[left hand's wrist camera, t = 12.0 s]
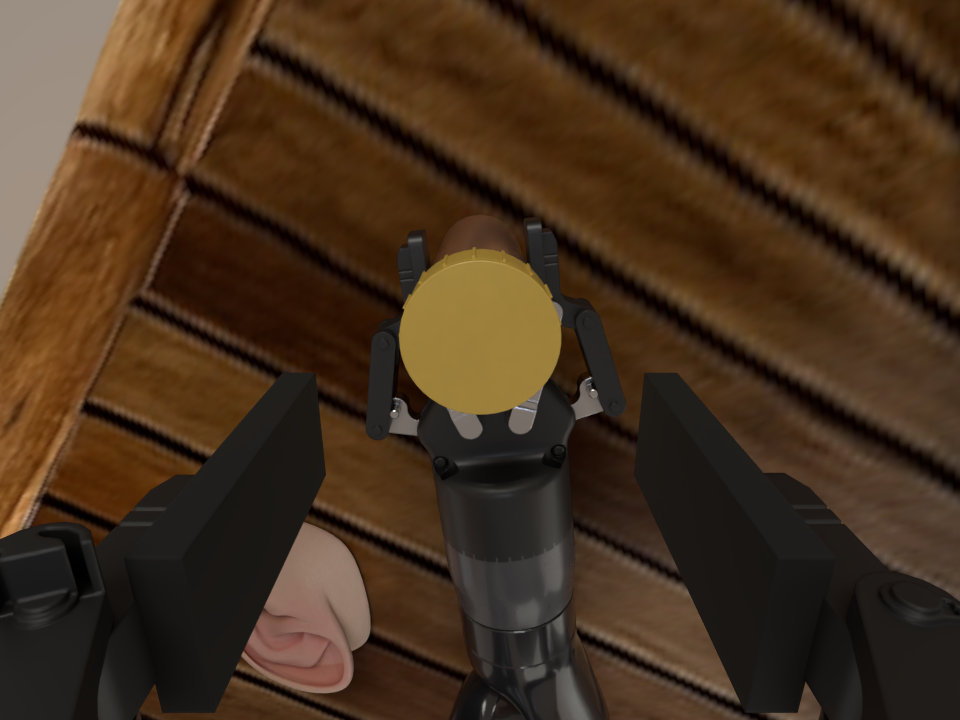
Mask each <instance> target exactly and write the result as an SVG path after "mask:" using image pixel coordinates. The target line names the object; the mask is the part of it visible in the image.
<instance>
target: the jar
mask: <svg viewBox="0 0 960 720" xmlns="http://www.w3.org/2000/svg"><path fill="white" fill-rule="evenodd" d="M473 247H476V249H488V250H495V251H499V252H501V251H502V250H503V251H505V253H506V254H508V255H511V256H513V257H515V258H517V259H519V260H521V261H522V262H523V263H525V264H527V261H526V259H525V256H524V254H523V251H522V249H521V246H520V244H519V241H518V239H517V237H516V235H515V233H514V232H513V231H512V229H511V228H510V227H509V226H508V225H507V224H505V223H504V222H503V221H501V220H499V219H497V218H495V217H492V216H488V215H472V216H468V217H465V218H463V219H461V220H459V221H458V222H456V223H455V224H454V225H453V226H452V227H451V228H450V229H449V230H448V231H447V233H446V234H445V236H444V238H443V240H442V242H441V245H440V247H439V250H438V252H437V255H436V257H435V260H434V262H433V265H434V264H436V263H437V262H439V261H440V260H442V259H444V257H445V255H447V254H448V256H450V255H452V254H454V253H458V252H461V251H466V250H472V249H473ZM433 265H432V266H433Z"/></svg>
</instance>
